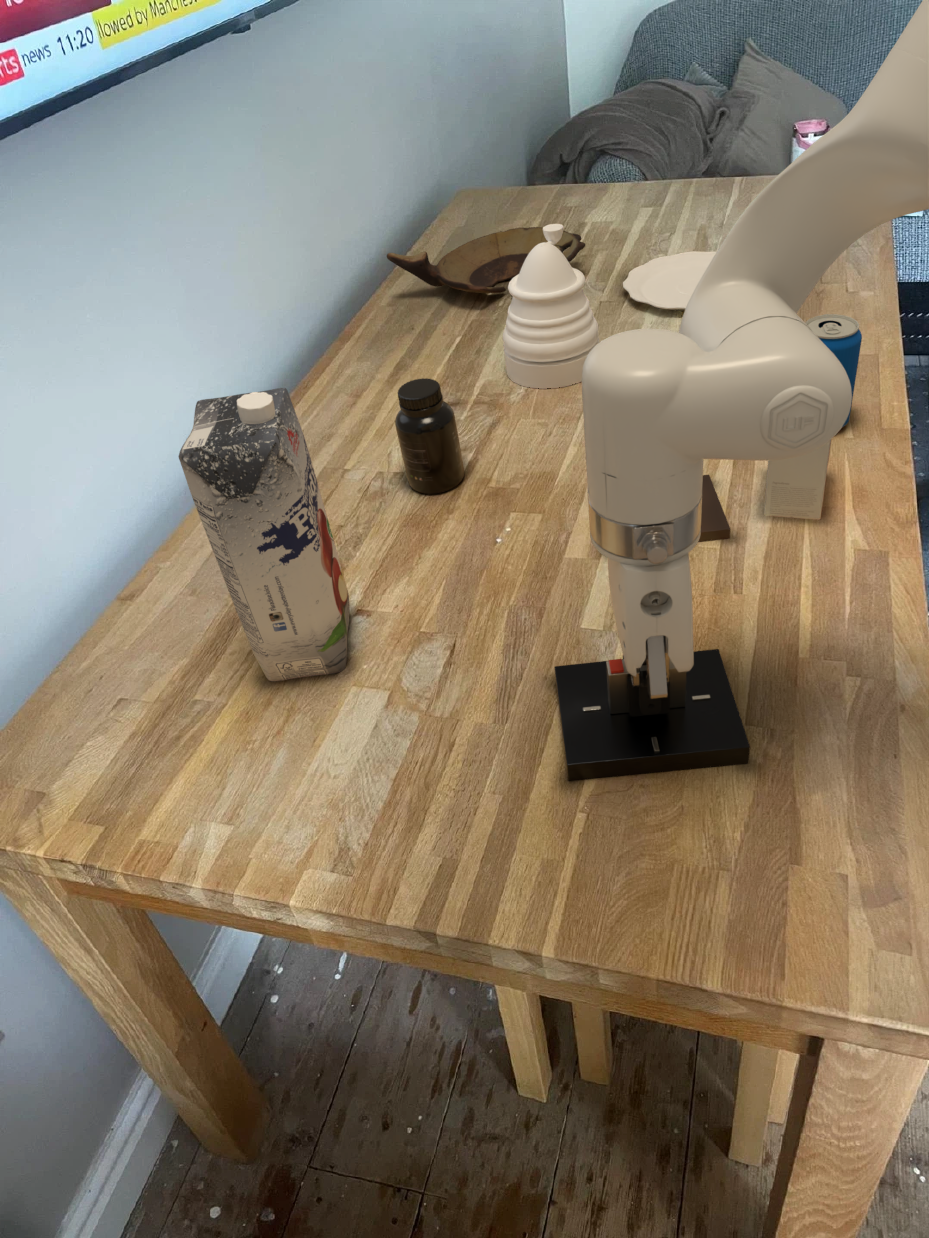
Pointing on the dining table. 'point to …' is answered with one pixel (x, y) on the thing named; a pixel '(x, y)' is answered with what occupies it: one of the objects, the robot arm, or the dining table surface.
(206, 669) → the dining table surface
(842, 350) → the beverage can
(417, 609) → the dining table surface
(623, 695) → the knob
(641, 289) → the plate
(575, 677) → the console
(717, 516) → the button block
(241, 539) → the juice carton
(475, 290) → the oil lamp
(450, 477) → the supplement bottle
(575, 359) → the honey pot
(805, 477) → the small box
